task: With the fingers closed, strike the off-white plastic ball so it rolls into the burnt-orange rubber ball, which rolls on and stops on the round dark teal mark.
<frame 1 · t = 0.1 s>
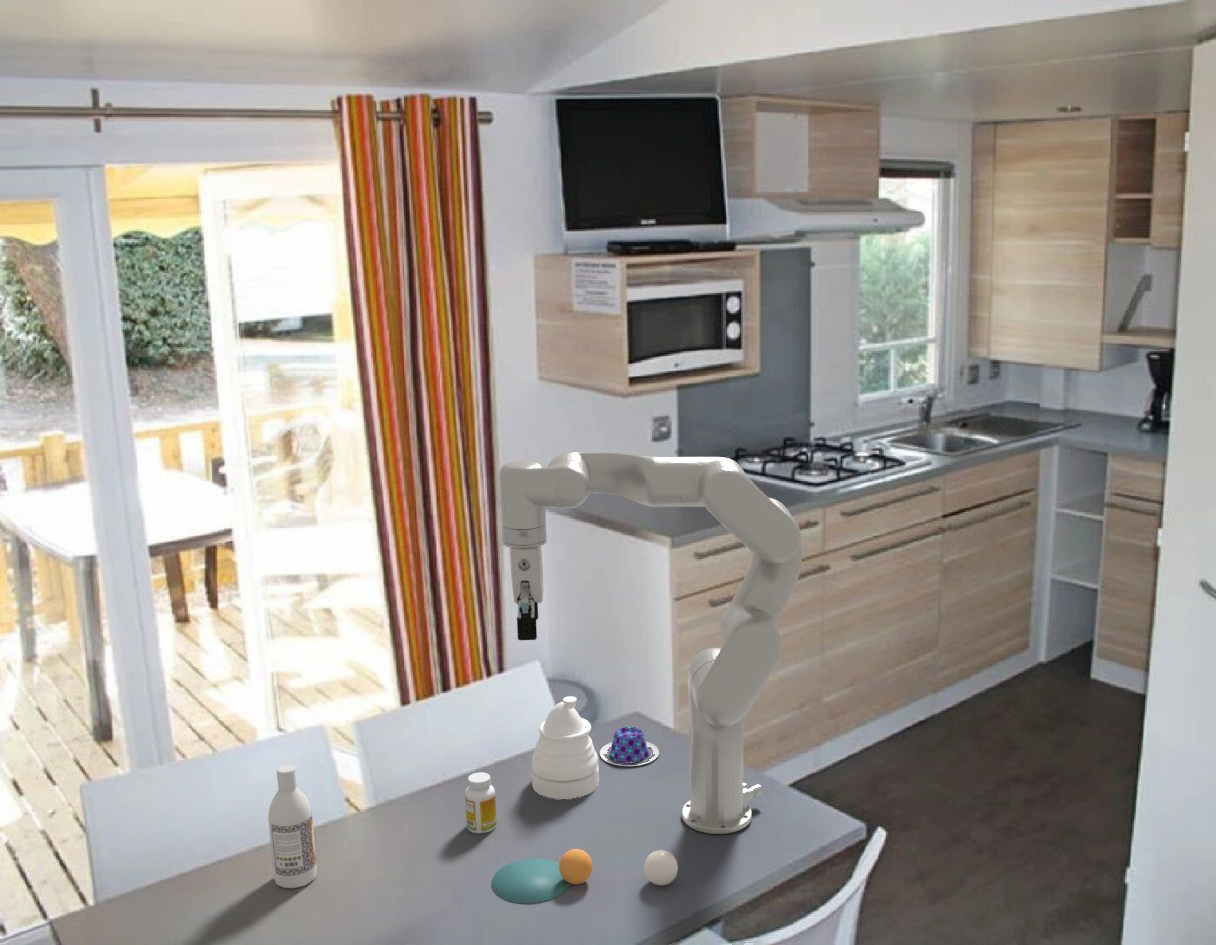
hand: (528, 629, 205), 37 cm above the table, tool pointing down, fingers open, 9 cm apart
pudding: (629, 756, 240), on the table
supplement bottle: (481, 827, 213), on the table
white ball: (661, 867, 194), on the table
bath foam: (296, 879, 198), on the table
orange ball: (575, 866, 195), on the table
honey pot: (565, 784, 229), on the table
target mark: (531, 880, 196), on the table
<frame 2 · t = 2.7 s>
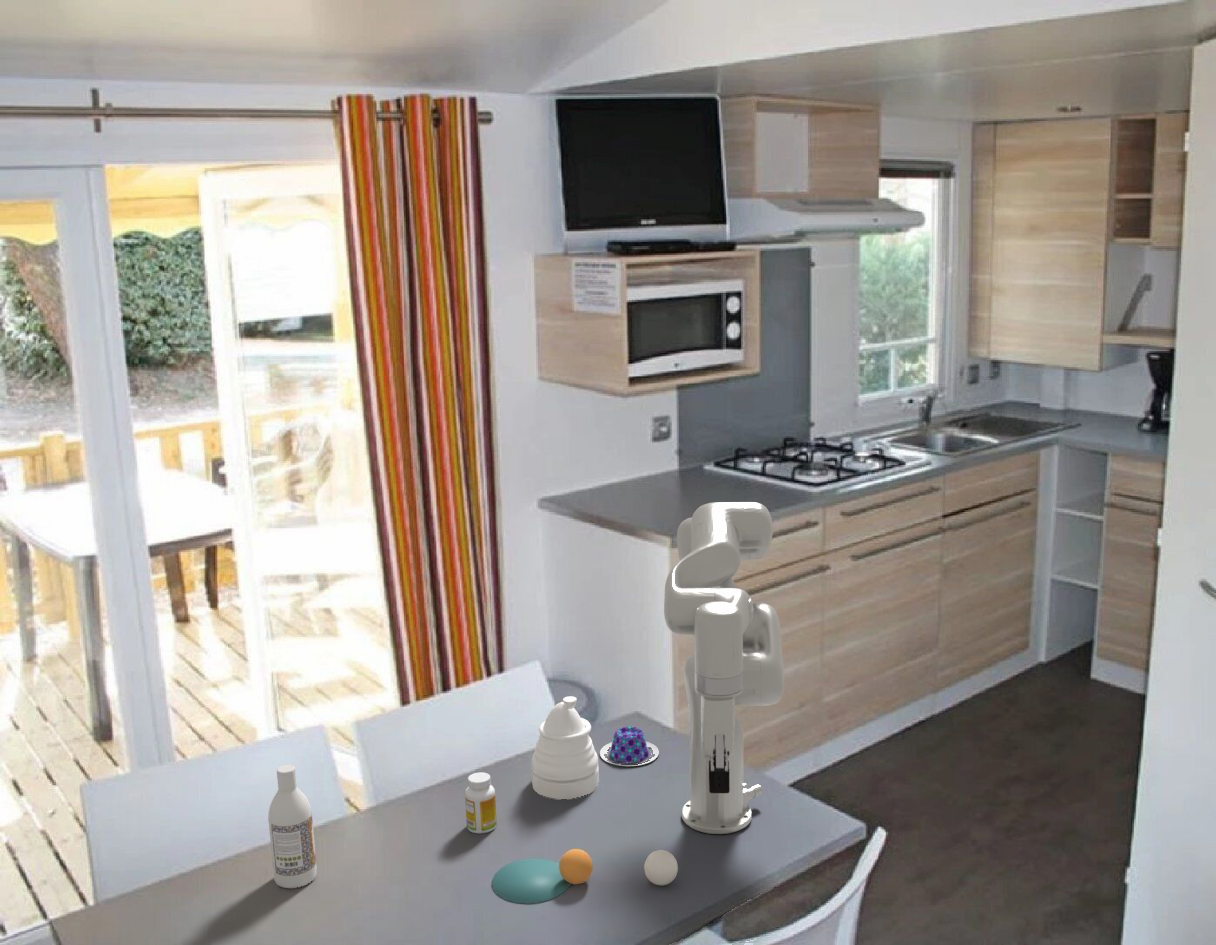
hand: (719, 787, 190), 17 cm above the table, tool pointing down, fingers closed
nothing on the table moved.
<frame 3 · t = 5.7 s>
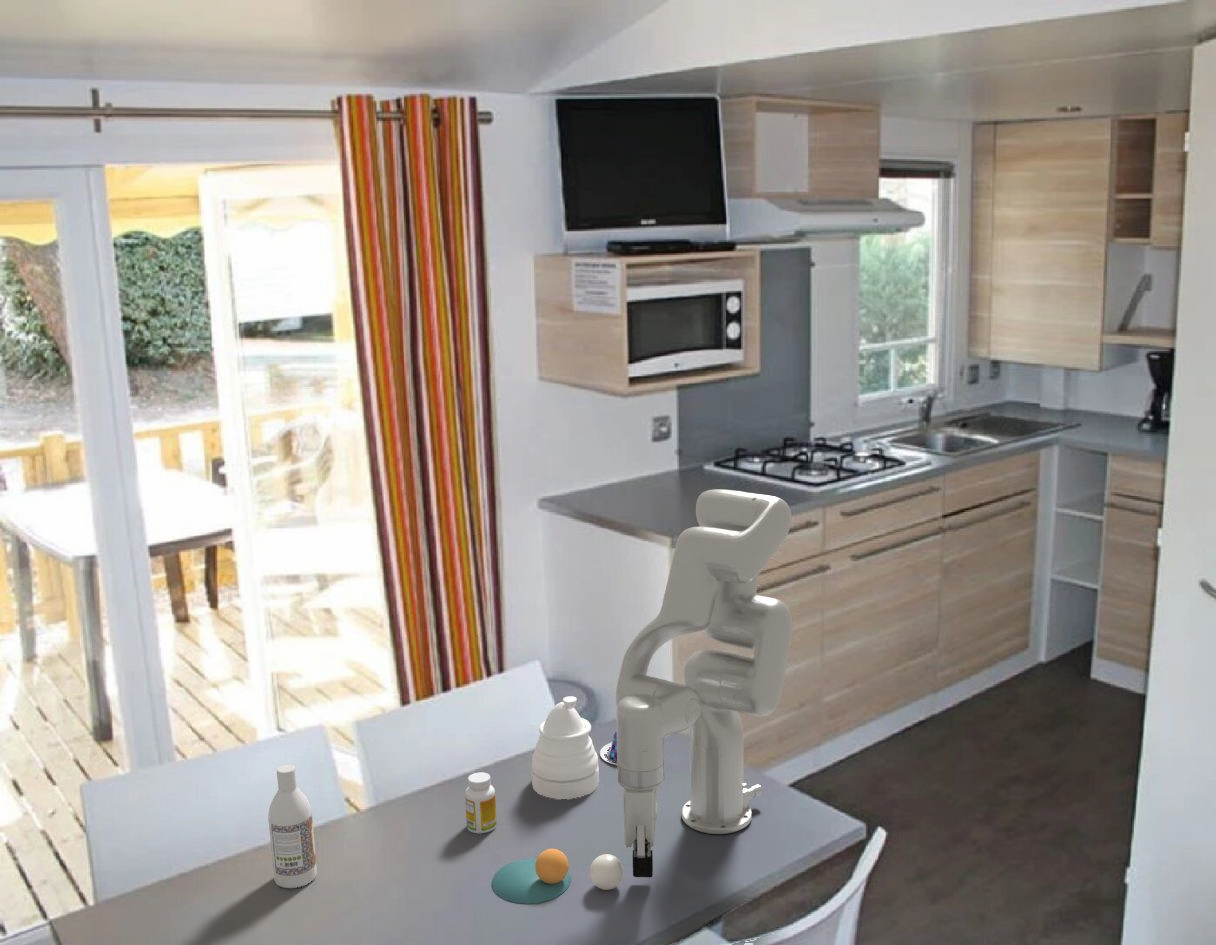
hand: (642, 874, 194), 2 cm above the table, tool pointing down, fingers closed
white ball: (606, 871, 193), on the table
orange ball: (551, 866, 195), on the table
everything else where it was.
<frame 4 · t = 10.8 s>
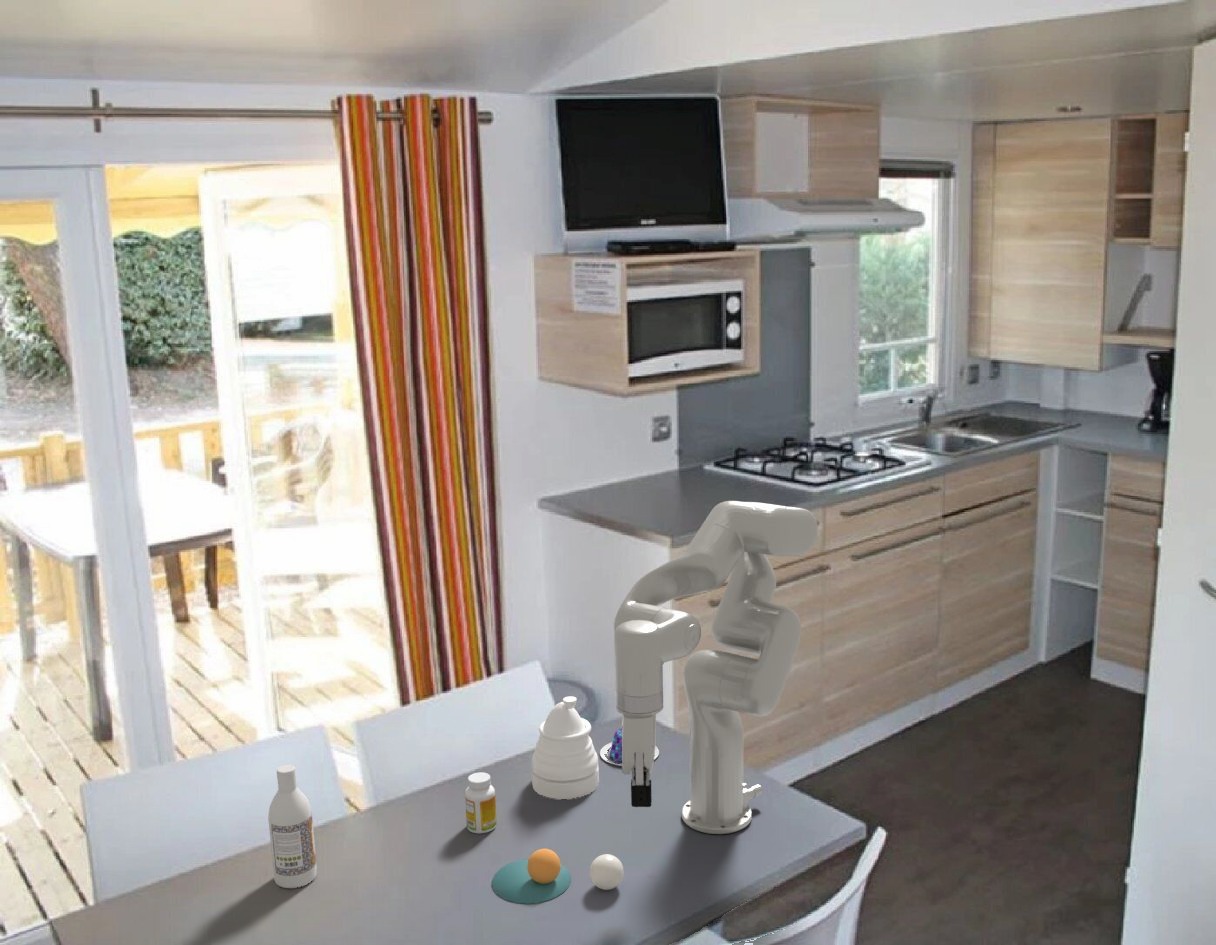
hand: (641, 804, 191), 14 cm above the table, tool pointing down, fingers closed
orange ball: (544, 866, 195), on the table
everything else where it was.
at the end: orange ball 2.2 cm from the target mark (horizontally); orange ball never touched the robot; white ball first touched orange ball at 5.1 s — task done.
